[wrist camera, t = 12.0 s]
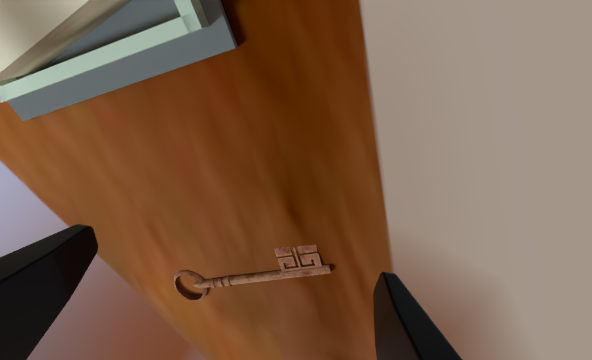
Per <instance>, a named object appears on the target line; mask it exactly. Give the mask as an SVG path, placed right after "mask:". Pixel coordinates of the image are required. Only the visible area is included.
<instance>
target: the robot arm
mask: <svg viewBox="0 0 592 360" xmlns="http://www.w3.org/2000/svg"><path fill="white" fill-rule="evenodd" d="M97 250H98V243H97V240H96V237H95V233H94V230H93V228H92V227H91V226H87V225H80V224H77V225H74V226H71V227H69V228H67V229H65V230H62V231H60V232H58V233H55V234H53V235H51V236H49V237H46V238H44V239H42V240H39V241H37V242H35V243H33V244H30V245H28V246H26V247H23V248H21V249H19V250H17V251H14V252H12V253H9V254H7V255H5V256H3V257H0V360H26V359H27V358H28V357H29V355H30V354H31V352H32V351H33V350H34V348H35V347H36V345H37V344H38V343H39V341H40V340H41V338H42V337H43V336H44V334H45V333H46V331H47V330H48V329H49V327H50V326H51V324H52V323H53V322H54V320H55V319H56V318H57V316H58V315H59V313H60V312H61V311H62V309H63V308H64V306H65V305H66V303H67V302H68V301H69V299H70V297H71V296H72V294H73V293H74V291H75V289H76V288H77V286H78V284H79V282H80V281H81V279H82V277H83V276H84V274H85V272H86V270H87V269H88V267H89V265H90V264H91V262H92V260H93V258H94V256H95V255H96V253H97ZM373 300H374V327H375V347H376V355H377V360H462V359H461V357H460V356H459V355H458V354H457V352H456V351H455V350H454V348H453V347H452V346H451V345H450V343H449V342H448V341H447V339H446V338H445V337H444V335H443V334H442V333H441V332H440V330H439V329H438V328H437V327H436V325H435V324H434V323H433V321H432V320H431V319H430V318H429V316H428V315H427V314H426V312H425V311H424V310H423V308H422V307H421V306H420V305H419V303H418V302H417V301H416V299H415V298H414V297H413V296H412V294H411V293H410V292H409V290H407V288H406V287H405V285H404V284H403V283H402V281H401V280H400V279H399V278H398V276H397V275H396V274H394V273H388V272H382V273H381V274H380V276H379V278H378V281H377V283H376V286H375V289H374V294H373Z"/></svg>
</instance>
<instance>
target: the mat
mask: <svg viewBox="0 0 592 360" xmlns="http://www.w3.org/2000/svg"><path fill="white" fill-rule="evenodd" d="M199 1H200V4H201V6H202V9H203V11H204V14H205V16H206V19H207V21H208V24H209V27H206V28H204V29H201V30H198V31H195V32H193V33H190V34H187V35H185V36H182V37H179V38H177V39H174V40H171V41H168V42H166V43H163V44H160V45H158V46H155V47H152V48H150V49H147V50H144V51H141V52H139V53H136V54H133V55H131V56H128V57H125V58H123V59H120V60H117V61H114V62H112V63H109V64H106V65H104V66H101V67H98V68H96V69H93V70H90V71H87V72H85V73H82V74H79V75H77V76H74V77H71V78H69V79H66V80H63V81H60V82H58V83H55V84H52V85H50V86H47V87H44V88H42V89H39V90H36V91H33V92H31V93H28V94H25V95H23V96H20V97H17V98H14V99H11V100H8V101H7V102H8V103H9V104H10V105H11V107H12V108H13V109H14V110H15V112H16V113H17V114H18V116H19V117H20V118H21V119H22V121H26V120H29V119H31V118H34V117H37V116H40V115H43V114H46V113H49V112H52V111H55V110H58V109H60V108H63V107H66V106H69V105H72V104H75V103H78V102H81V101H84V100H87V99H89V98H92V97H95V96H98V95H101V94H104V93H107V92H110V91H113V90H116V89H118V88H121V87H124V86H127V85H130V84H133V83H136V82H139V81H142V80H145V79H147V78H150V77H153V76H156V75H159V74H162V73H165V72H168V71H171V70H174V69H177V68H179V67H182V66H185V65H188V64H191V63H194V62H197V61H200V60H203V59H206V58H208V57H211V56H214V55H217V54H220V53H223V52H226V51H229V50H232V49H235V48H237V47H238V46H237V43H236V41H235V38H234V35H233V33H232V30H231V27H230V25H229V22H228V19H227V17H226V14H225V11H224V9H223V6H222V3H221V1H220V0H199ZM179 17H181V15H180V13H179V11H178V8H177V6H176V4H175V2H174V0H132V1H130V2H129V3H128V4H126V5H125V6H124V7H122V8H121V9H120V10H118V11H117V12H116V13H115V14H113V15H112V16H111V17H109V18H108V19H107V20H105V21H104V22H103V23H101V24H100V25H99V26H98V27H96V28H95V29H94V30H92V31H91V32H90V33H88V34H87V35H86V36H84V37H83V38H82V39H81V40H79V41H78V42H77V43H75V44H74V45H73V46H71V47H70V48H69V49H67V50H66V51H65V52H64V53H62V54H61V55H60V56H58V57H57V58H56V59H54V60H53V61H52V62H50V63H49V64H48V65H47V66H45V67H44V68H43V69H41V70H40V71H42V70H44V69H47V68H50V67H52V66H55V65H57V64H60V63H63V62H65V61H68V60H70V59H73V58H75V57H78V56H81V55H83V54H86V53H88V52H91V51H93V50H96V49H99V48H101V47H104V46H106V45H109V44H112V43H114V42H117V41H119V40H122V39H124V38H127V37H130V36H132V35H135V34H137V33H140V32H142V31H145V30H148V29H150V28H153V27H155V26H158V25H161V24H163V23H166V22H168V21H171V20H173V19H176V18H179ZM38 72H39V71H38ZM34 73H37V72H34ZM34 73H30V74H26V75H22V76H18V77H15V78H16V79H17V80H19V79H21V78H24V77H26V76H29V75H32V74H34Z"/></svg>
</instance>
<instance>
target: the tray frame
mask: <svg viewBox="0 0 592 360" xmlns="http://www.w3.org/2000/svg"><path fill="white" fill-rule="evenodd" d="M174 2H175V4H176V6H177V8H178V11H179V13H180V15H181V17H179V18H176V19H173V20H171V21H168V22H166V23H163V24H161V25H158V26H155V27H153V28H150V29H148V30H145V31H142V32H140V33H137V34H135V35H132V36H130V37H127V38H124V39H122V40H119V41H117V42H114V43H112V44H109V45H106V46H104V47H101V48H99V49H96V50H93V51H91V52H88V53H86V54H83V55H81V56H78V57H75V58H73V59H70V60H68V61H65V62H63V63H60V64H57V65H55V66H52V67H50V68H47V69H44V70H42V71H39V72H37V73H34V74H32V75H29V76H26V77H24V78H21V79H19V80H17V79H16V78H15V77H14V78H10V79H7V80H3V81H0V102H1V103H2V102H5V101H8V100H11V99H14V98H17V97H20V96H23V95H25V94H28V93H31V92H33V91H36V90H39V89H42V88H44V87H47V86H50V85H52V84H55V83H58V82H60V81H63V80H66V79H69V78H71V77H74V76H77V75H79V74H82V73H85V72H87V71H90V70H93V69H96V68H98V67H101V66H104V65H106V64H109V63H112V62H114V61H117V60H120V59H123V58H125V57H128V56H131V55H133V54H136V53H139V52H141V51H144V50H147V49H150V48H152V47H155V46H158V45H160V44H163V43H166V42H168V41H171V40H174V39H177V38H179V37H182V36H185V35H187V34H190V33H193V32H195V31H198V30H201V29H204V28H206V27H209V24H208V21H207V19H206V16H205V14H204V11H203V9H202V6H201V4H200V1H199V0H174Z"/></svg>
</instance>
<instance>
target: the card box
mask: <svg viewBox="0 0 592 360" xmlns="http://www.w3.org/2000/svg"><path fill="white" fill-rule="evenodd" d="M130 1H132V0H0V81H3V80H7V79H10V78H14V77H18V76H22V75H26V74H30V73H34V72H38V71H40V70H41V69H43V68H44V67H45V66H47V65H48V64H49V63H50V62H52V61H53V60H54V59H56V58H57V57H58V56H60V55H61V54H62V53H64V52H65V51H66V50H67V49H69V48H70V47H71V46H73V45H74V44H75V43H77V42H78V41H79V40H81V39H82V38H83V37H84V36H86V35H87V34H88V33H90V32H91V31H92V30H94V29H95V28H96V27H98V26H99V25H100V24H101V23H103V22H104V21H105V20H107V19H108V18H109V17H111V16H112V15H113V14H115V13H116V12H117V11H118V10H120V9H121V8H122V7H124V6H125V5H126V4H128V3H129V2H130Z"/></svg>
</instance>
